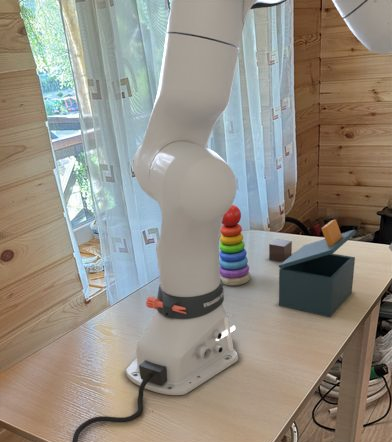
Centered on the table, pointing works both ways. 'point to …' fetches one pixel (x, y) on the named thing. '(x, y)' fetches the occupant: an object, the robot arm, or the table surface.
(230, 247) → the stacking toy
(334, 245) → the lid
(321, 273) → the dark teal box
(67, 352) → the table surface
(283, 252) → the block
